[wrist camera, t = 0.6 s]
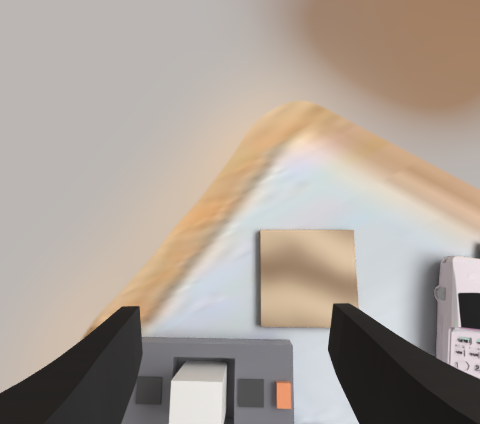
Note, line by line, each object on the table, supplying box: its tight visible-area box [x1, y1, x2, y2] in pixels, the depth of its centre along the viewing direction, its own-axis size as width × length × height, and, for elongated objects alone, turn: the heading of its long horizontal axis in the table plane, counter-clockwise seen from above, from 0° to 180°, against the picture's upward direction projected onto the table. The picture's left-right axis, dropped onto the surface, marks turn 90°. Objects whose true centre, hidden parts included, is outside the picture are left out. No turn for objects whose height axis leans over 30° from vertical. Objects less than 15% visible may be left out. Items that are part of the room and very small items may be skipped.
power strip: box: [121, 337, 294, 424], centre depth 30 cm, size 16×8×4 cm, turn 89°
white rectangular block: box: [169, 361, 228, 424], centre depth 27 cm, size 4×4×6 cm
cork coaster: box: [260, 230, 359, 328], centre depth 32 cm, size 10×10×1 cm
